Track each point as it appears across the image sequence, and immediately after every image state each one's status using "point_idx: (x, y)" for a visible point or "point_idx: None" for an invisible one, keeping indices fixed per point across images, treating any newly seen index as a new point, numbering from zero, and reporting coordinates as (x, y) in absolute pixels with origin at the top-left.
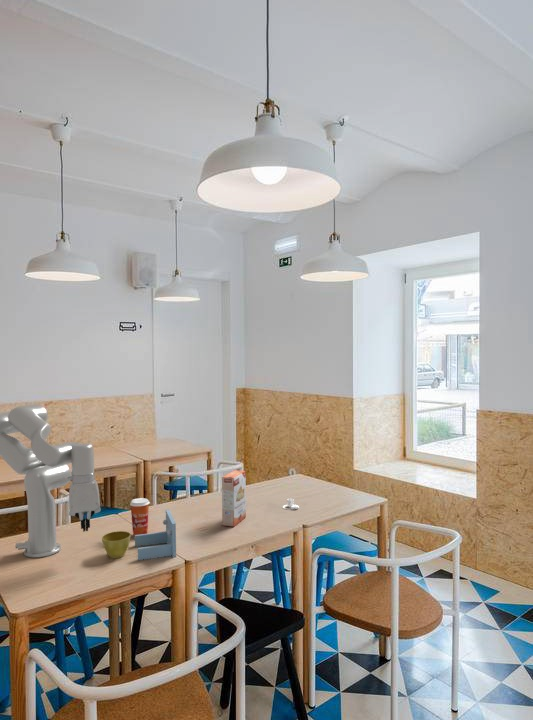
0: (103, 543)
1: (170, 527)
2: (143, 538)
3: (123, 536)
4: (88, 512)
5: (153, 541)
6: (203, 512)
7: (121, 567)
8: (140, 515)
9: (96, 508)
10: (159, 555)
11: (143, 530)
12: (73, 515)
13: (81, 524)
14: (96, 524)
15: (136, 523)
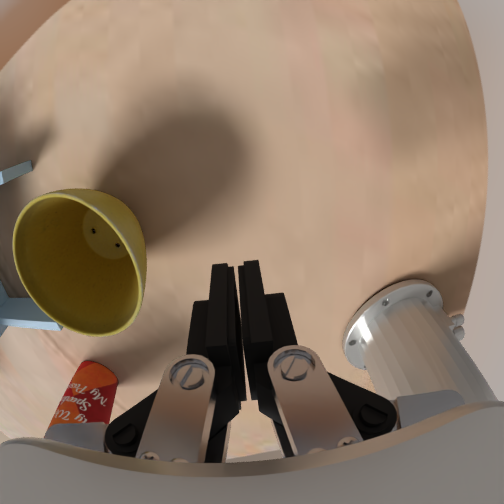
0: (131, 229)
1: None
2: (41, 312)
3: (71, 306)
4: (180, 449)
5: (27, 302)
6: (37, 413)
7: (75, 91)
8: (64, 414)
9: (10, 454)
10: None
11: (76, 374)
12: (409, 400)
13: (284, 318)
14: (243, 442)
15: (85, 397)
